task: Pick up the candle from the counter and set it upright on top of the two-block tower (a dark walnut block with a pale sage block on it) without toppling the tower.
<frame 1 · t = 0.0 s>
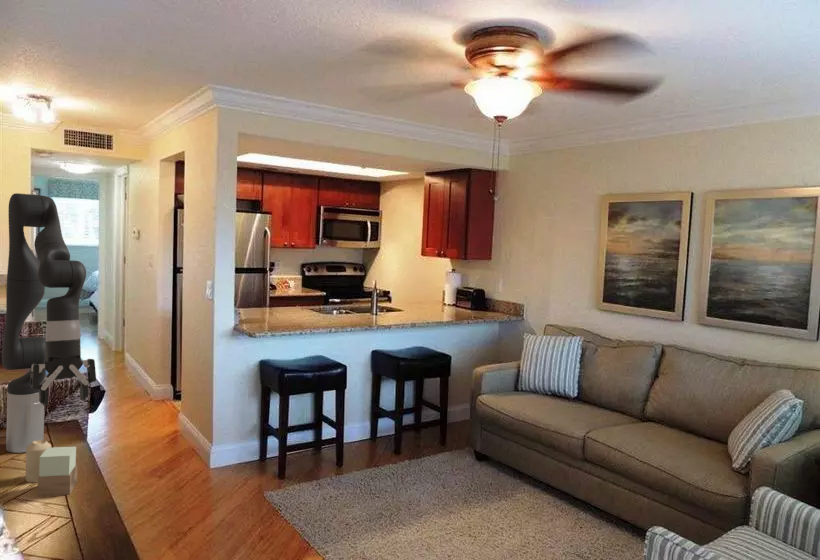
hand: (64, 402, 145), 22 cm above the table, tool pointing down, fingers open, 8 cm apart
base block: (57, 490, 145), on the table, touching top block
top block: (57, 470, 145), point 5 cm above the table, touching base block
candle: (38, 479, 151), on the table
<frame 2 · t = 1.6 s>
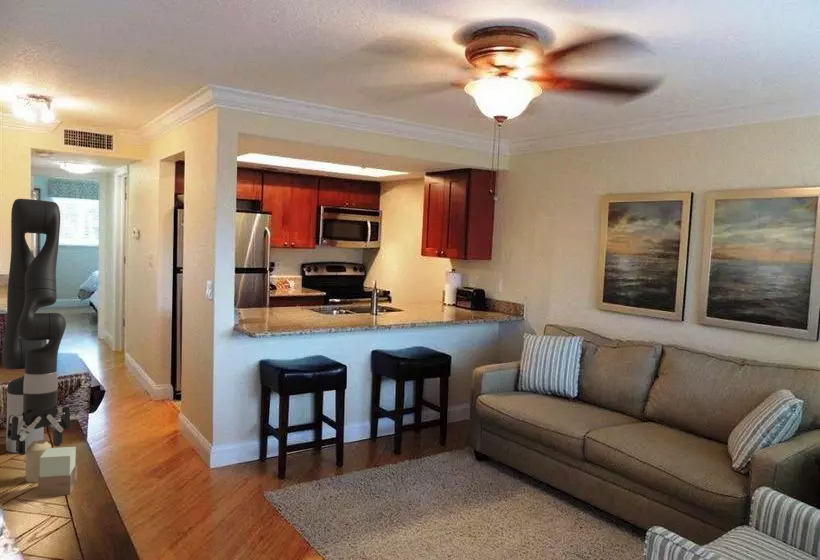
hand: (39, 449, 150), 8 cm above the table, tool pointing down, fingers open, 8 cm apart
nothing on the table moved.
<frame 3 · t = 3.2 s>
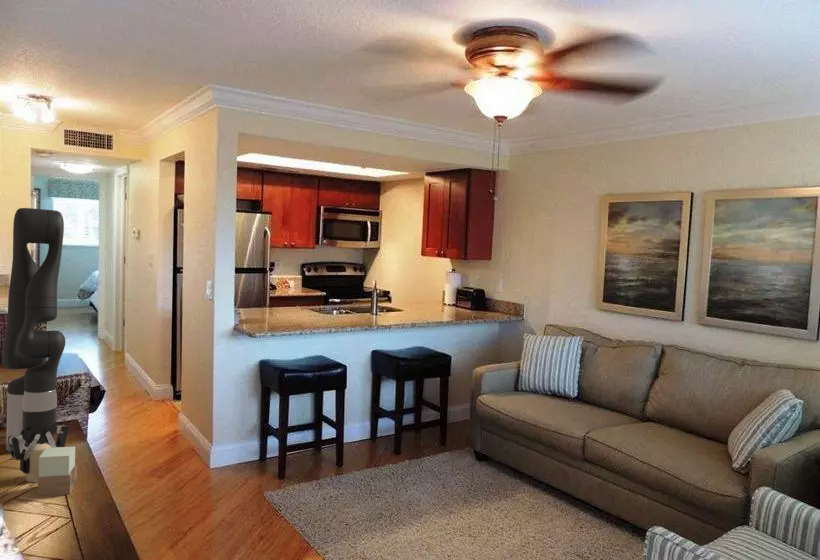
hand: (38, 469, 151), 3 cm above the table, tool pointing down, fingers closed on candle, 5 cm apart
base block: (57, 490, 145), on the table
top block: (57, 471, 145), point 5 cm above the table
candle: (38, 479, 151), on the table, touching gripper
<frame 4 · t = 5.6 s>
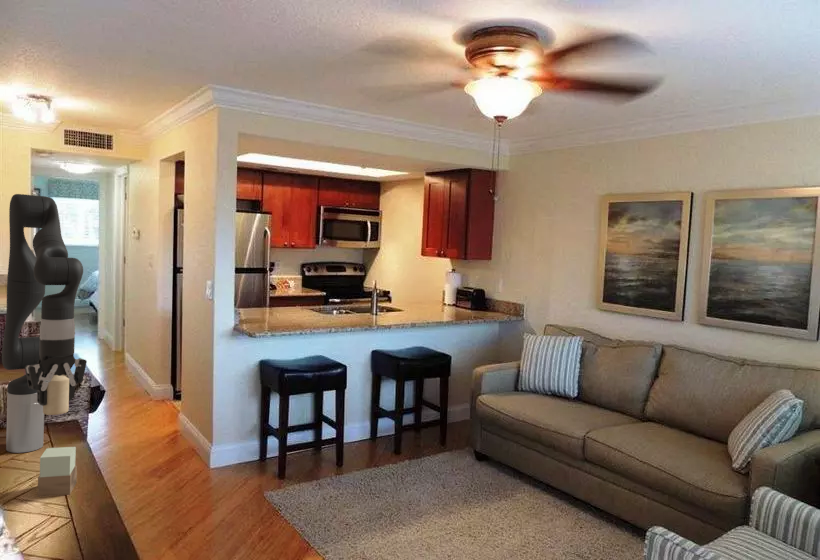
hand: (56, 402, 144), 22 cm above the table, tool pointing down, fingers closed on candle, 5 cm apart
base block: (57, 490, 145), on the table, touching top block
top block: (57, 471, 145), point 5 cm above the table, touching base block
candle: (55, 412, 145), point 20 cm above the table, touching gripper
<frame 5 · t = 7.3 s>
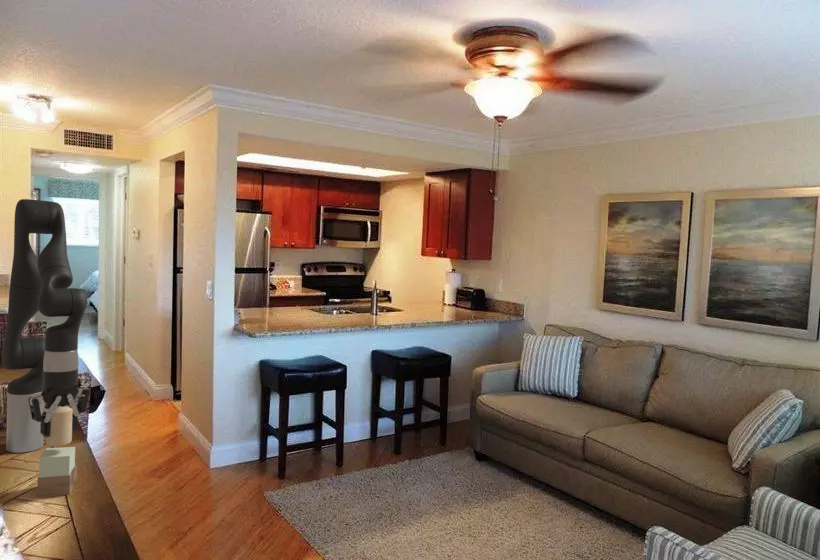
hand: (59, 432, 144), 15 cm above the table, tool pointing down, fingers closed on candle, 5 cm apart
candle: (58, 443, 144), point 12 cm above the table, touching gripper
everything else where it was.
when the fingers open (13 cm above the table, at t = 8.5 s): candle stays where it is, resting on top block.
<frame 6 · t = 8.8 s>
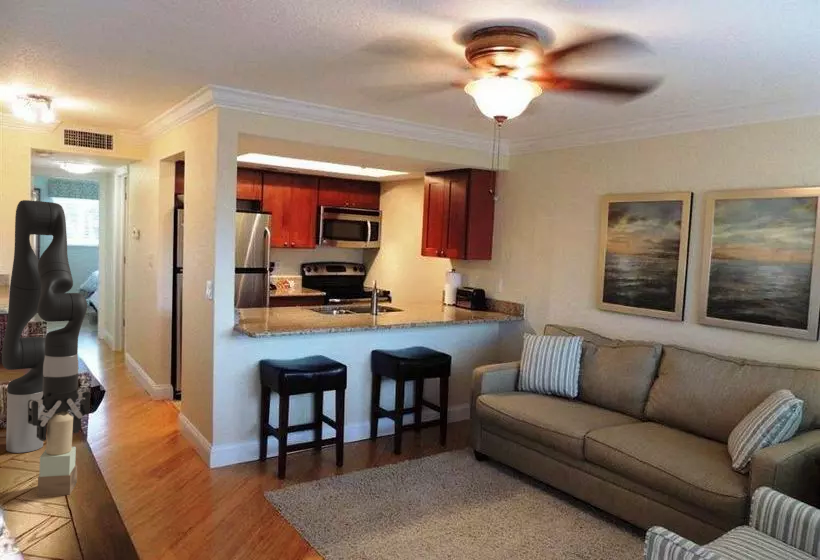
hand: (59, 436, 144), 14 cm above the table, tool pointing down, fingers open, 7 cm apart
top block: (57, 471, 145), point 5 cm above the table, touching base block, candle
candle: (58, 451, 145), point 10 cm above the table, touching top block
everything else where it was.
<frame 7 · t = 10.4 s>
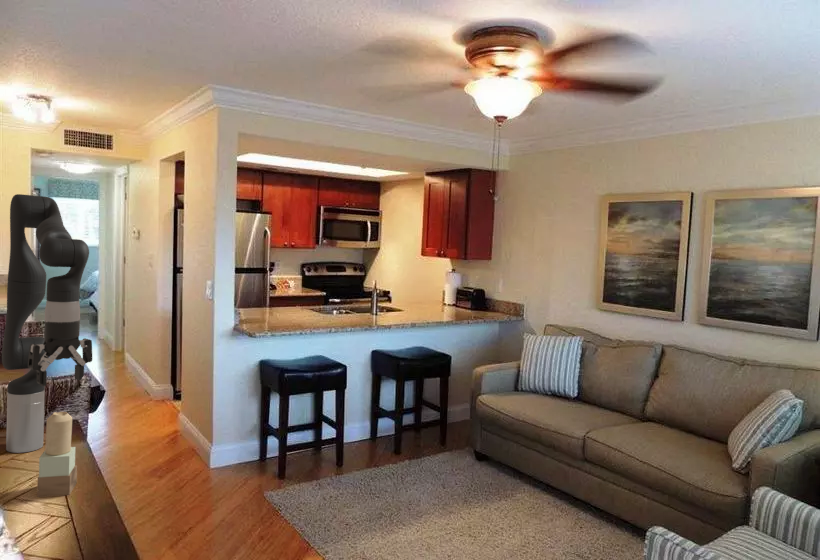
hand: (60, 382, 143), 28 cm above the table, tool pointing down, fingers open, 8 cm apart
nothing on the table moved.
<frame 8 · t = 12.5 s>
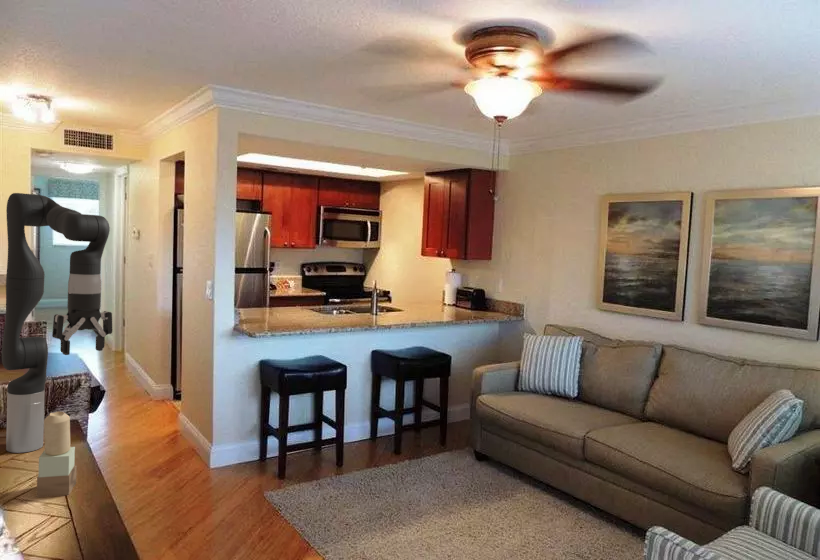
hand: (82, 352, 150), 34 cm above the table, tool pointing down, fingers open, 8 cm apart
at the end: candle 0.0 cm off-centre on the base block, point 10.1 cm above the base block's base; candle tilted 6°; top block 0.1 cm off-centre on the base block, point 5.0 cm above the base block's base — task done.
